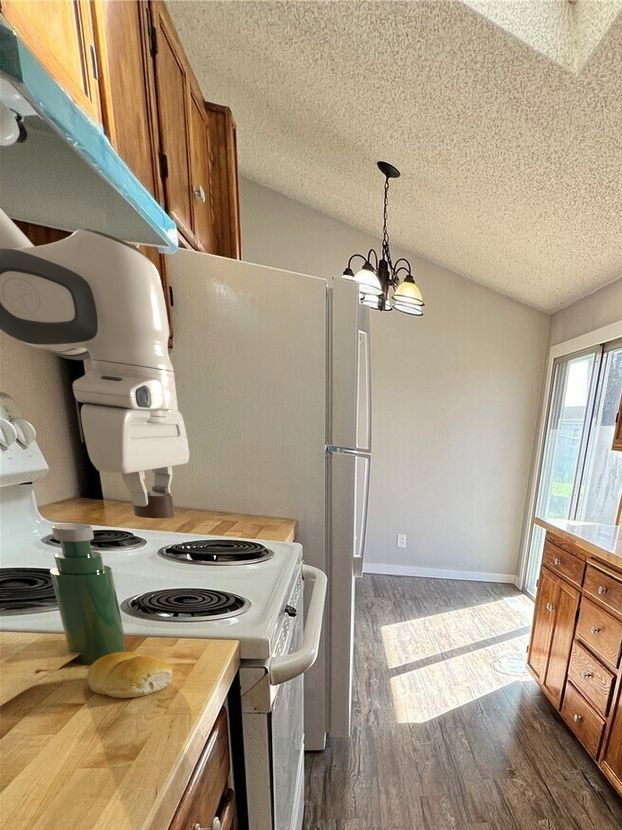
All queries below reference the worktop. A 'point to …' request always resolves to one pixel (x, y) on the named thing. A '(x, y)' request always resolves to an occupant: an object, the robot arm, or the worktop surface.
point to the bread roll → (128, 675)
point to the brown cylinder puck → (157, 506)
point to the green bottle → (86, 596)
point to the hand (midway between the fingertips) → (152, 502)
